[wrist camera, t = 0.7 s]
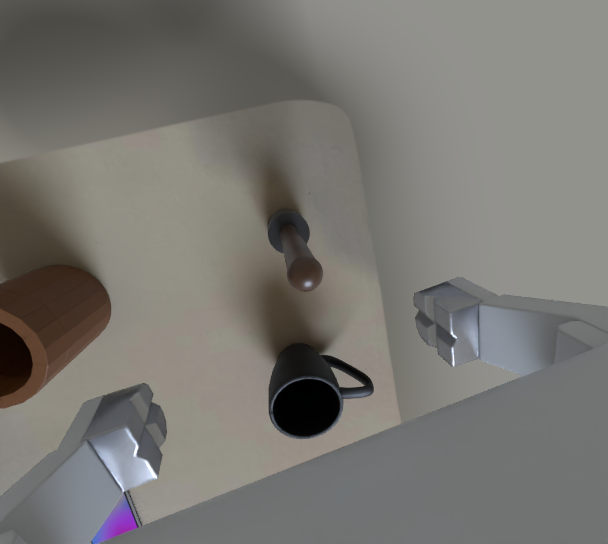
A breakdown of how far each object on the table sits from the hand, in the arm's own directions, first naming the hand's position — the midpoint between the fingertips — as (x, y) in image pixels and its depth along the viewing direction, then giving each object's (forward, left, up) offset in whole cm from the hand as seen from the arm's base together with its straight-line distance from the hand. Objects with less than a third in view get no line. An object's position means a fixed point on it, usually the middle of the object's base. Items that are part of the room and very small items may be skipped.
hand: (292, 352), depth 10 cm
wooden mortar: (+11, -24, -30) cm, 40 cm away
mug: (+19, +6, -31) cm, 36 cm away
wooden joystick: (+1, +2, -30) cm, 30 cm away
